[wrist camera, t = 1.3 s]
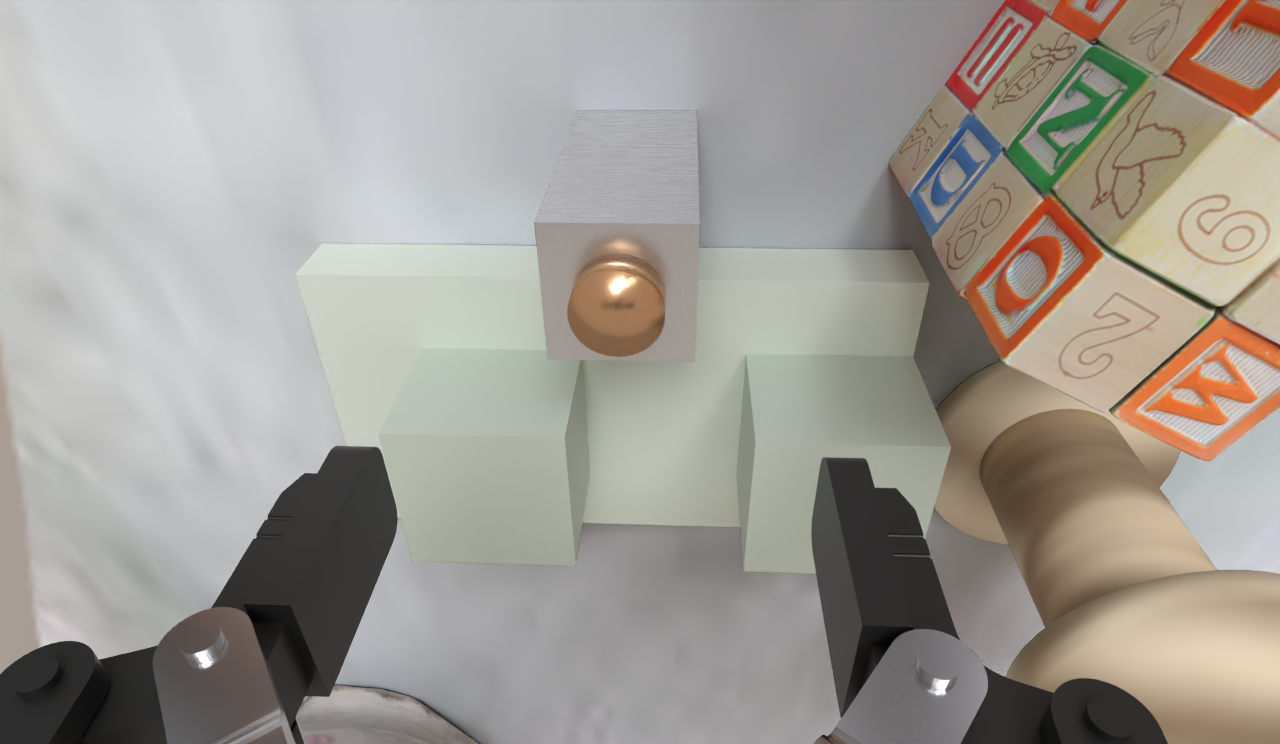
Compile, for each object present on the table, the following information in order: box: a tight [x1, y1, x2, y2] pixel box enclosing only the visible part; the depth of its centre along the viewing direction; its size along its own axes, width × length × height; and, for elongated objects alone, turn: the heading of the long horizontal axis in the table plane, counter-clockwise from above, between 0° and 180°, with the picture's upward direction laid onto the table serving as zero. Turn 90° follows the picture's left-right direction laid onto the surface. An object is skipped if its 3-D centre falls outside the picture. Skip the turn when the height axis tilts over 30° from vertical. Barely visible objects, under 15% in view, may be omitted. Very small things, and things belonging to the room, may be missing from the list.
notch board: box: [295, 243, 951, 574], centre depth 29 cm, size 12×22×8 cm, turn 91°
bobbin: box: [934, 361, 1280, 744], centre depth 28 cm, size 10×10×12 cm
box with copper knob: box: [534, 110, 700, 362], centre depth 23 cm, size 4×4×10 cm
